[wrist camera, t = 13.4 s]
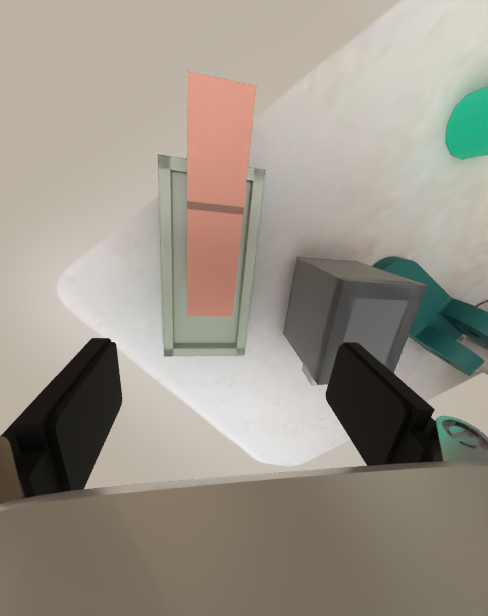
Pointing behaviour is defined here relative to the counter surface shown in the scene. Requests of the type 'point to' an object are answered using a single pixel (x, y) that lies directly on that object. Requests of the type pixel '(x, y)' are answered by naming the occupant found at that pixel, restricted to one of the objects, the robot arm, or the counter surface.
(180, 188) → the tray
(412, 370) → the counter surface
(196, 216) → the terracotta pink bar
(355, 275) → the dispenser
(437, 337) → the bracket
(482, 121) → the candle
